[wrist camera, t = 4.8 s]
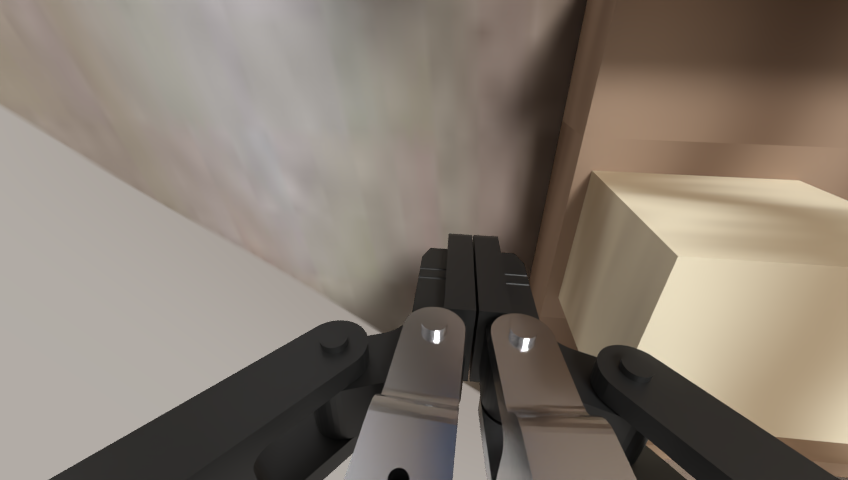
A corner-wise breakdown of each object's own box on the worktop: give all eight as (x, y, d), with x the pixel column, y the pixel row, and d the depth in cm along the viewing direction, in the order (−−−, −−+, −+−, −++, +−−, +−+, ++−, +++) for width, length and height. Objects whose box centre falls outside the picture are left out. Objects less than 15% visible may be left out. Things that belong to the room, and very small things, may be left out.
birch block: (558, 297, 13) (604, 420, 9) (591, 170, 11) (677, 256, 7) (724, 309, 13) (856, 444, 9) (798, 180, 10) (1035, 278, 6)
